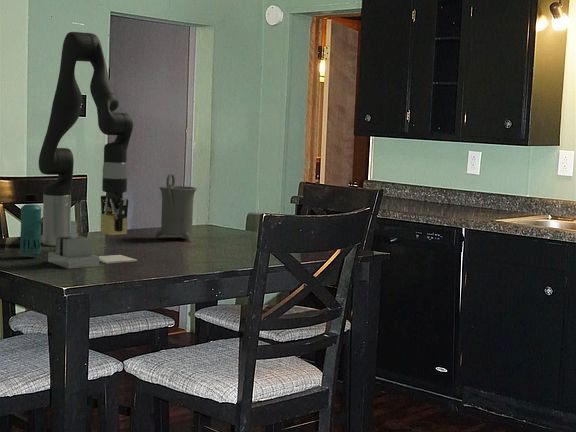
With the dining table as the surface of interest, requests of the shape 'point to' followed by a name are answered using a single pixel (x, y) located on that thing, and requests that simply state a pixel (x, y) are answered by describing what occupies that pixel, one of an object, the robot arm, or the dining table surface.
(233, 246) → the dining table surface
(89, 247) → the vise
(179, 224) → the grey looped tall container
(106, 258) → the pad
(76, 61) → the robot arm
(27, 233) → the beverage bottle
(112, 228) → the brass collar
